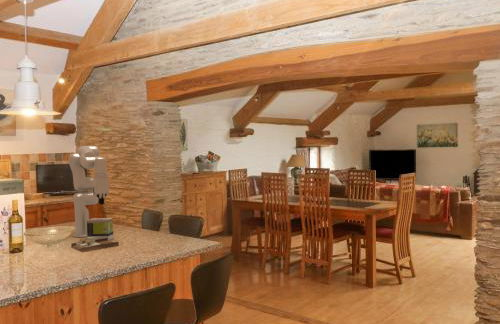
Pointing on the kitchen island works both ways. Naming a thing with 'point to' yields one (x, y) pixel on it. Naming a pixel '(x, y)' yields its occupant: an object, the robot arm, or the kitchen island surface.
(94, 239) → the panel
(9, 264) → the kitchen island surface
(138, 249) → the kitchen island surface
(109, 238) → the tea box
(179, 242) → the kitchen island surface
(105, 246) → the board
